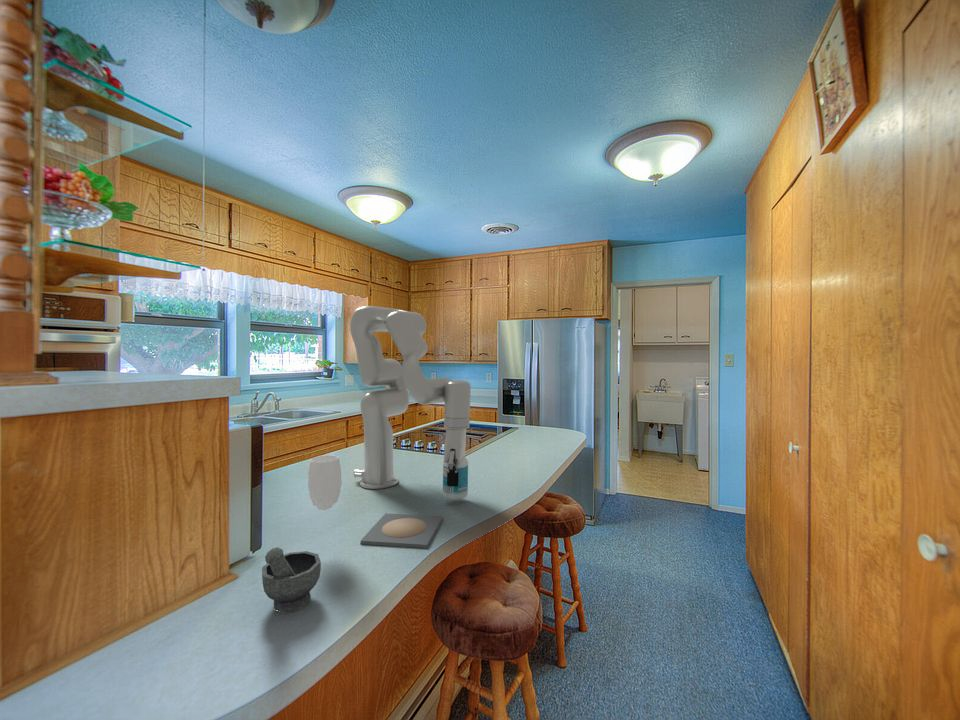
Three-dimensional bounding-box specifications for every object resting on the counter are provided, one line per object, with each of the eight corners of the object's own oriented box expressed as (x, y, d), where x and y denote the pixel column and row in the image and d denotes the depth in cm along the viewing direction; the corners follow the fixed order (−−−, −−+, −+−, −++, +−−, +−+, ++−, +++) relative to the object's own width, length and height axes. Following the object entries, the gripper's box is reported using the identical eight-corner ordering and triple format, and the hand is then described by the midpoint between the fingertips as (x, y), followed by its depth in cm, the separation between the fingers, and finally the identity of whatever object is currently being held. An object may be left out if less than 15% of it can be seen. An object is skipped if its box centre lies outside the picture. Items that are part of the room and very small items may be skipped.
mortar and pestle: (284, 584, 79) (283, 523, 79) (330, 587, 78) (329, 525, 77) (244, 623, 68) (242, 552, 67) (297, 627, 67) (296, 555, 66)
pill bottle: (469, 491, 124) (470, 448, 124) (465, 501, 117) (467, 454, 116) (444, 490, 125) (445, 446, 124) (440, 499, 118) (441, 453, 117)
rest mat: (360, 544, 95) (360, 540, 95) (385, 516, 111) (385, 512, 111) (427, 548, 93) (427, 544, 93) (442, 519, 109) (442, 515, 109)
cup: (322, 559, 88) (321, 464, 88) (301, 551, 92) (300, 460, 91) (349, 546, 94) (348, 457, 94) (328, 538, 98) (327, 453, 98)
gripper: (450, 416, 129) (449, 471, 130) (437, 427, 112) (436, 490, 113) (473, 417, 128) (472, 472, 129) (464, 429, 111) (462, 492, 112)
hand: (455, 480), depth 121 cm, fingers closed on pill bottle, 7 cm apart
